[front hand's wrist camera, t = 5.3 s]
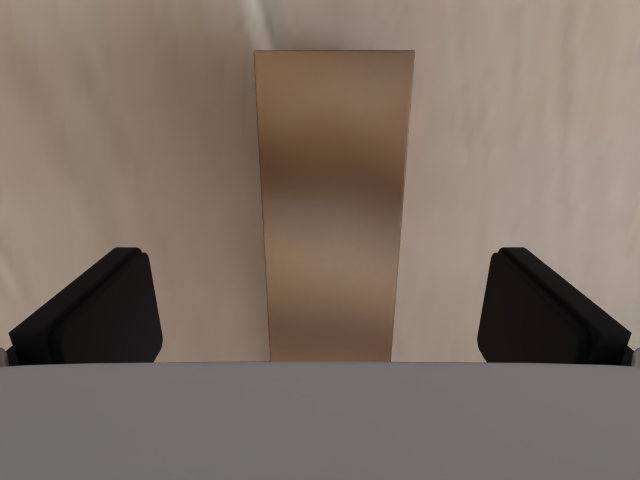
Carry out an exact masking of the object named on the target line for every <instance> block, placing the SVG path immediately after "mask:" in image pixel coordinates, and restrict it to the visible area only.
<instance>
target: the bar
mask: <svg viewBox="0 0 640 480" xmlns="http://www.w3.org/2000/svg"><path fill="white" fill-rule="evenodd" d="M414 55H415V51H414V50H282V51H254V67H255V86H256V104H257V123H258V141H259V160H260V178H261V197H262V215H263V233H264V252H265V270H266V289H267V307H268V326H269V344H270V362H391V351H392V338H393V326H394V313H395V300H396V287H397V274H398V261H399V248H400V235H401V223H402V210H403V197H404V184H405V171H406V158H407V145H408V132H409V120H410V107H411V94H412V81H413V68H414Z"/></svg>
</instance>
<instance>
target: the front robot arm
mask: <svg viewBox="0 0 640 480" xmlns="http://www.w3.org/2000/svg"><path fill="white" fill-rule="evenodd" d="M9 336H10V339H11V342H12V344H13V346H11V347H10V348H9V349H8V350H7V351H5V350H4V349H3V348H0V480H640V348H637V349H636V350H635V351H633V350H632V349H631V348H630V347H629V346H627V344H628V342H629V339H630V336H631V332H630V331H628V330H627V329H626V328H625V327H623V326H622V325H621V324H620V323H618V322H617V321H616V320H615V319H613V318H612V317H611V316H610V315H608V314H607V313H606V312H605V311H603V310H602V309H601V308H600V307H598V306H597V305H596V304H595V303H593V302H592V301H591V300H590V299H588V298H587V297H586V296H585V295H583V294H582V293H581V292H580V291H578V290H577V289H576V288H575V287H573V286H572V285H571V284H570V283H568V282H567V281H566V280H565V279H563V278H562V277H561V276H560V275H558V274H557V273H556V272H555V271H553V270H552V269H551V268H550V267H548V266H547V265H546V264H545V263H543V262H542V261H541V260H540V259H538V258H537V257H536V256H535V255H533V254H532V253H531V252H530V251H528V250H527V249H526V248H524V247H504V248H501V249H500V250H499V251H498V253H494V254H493V255H492V257H491V262H490V267H489V273H488V279H487V285H486V291H485V296H484V302H483V308H482V314H481V319H480V325H479V331H478V338H477V342H478V347H479V350H480V352H481V353H482V355H483V357H484V358H485V360H486V362H487V363H467V362H171V363H153V362H154V360H155V358H156V357H157V355H158V353H159V352H160V350H161V347H162V342H163V338H162V331H161V325H160V319H159V314H158V308H157V302H156V296H155V291H154V285H153V279H152V273H151V268H150V262H149V257H148V255H147V254H146V253H142V251H141V250H140V249H139V248H136V247H116V248H114V249H113V250H112V251H110V252H109V253H108V254H107V255H105V256H104V257H103V258H102V259H100V260H99V261H98V262H97V263H95V264H94V265H93V266H92V267H90V268H89V269H88V270H87V271H85V272H84V273H83V274H82V275H80V276H79V277H78V278H77V279H75V280H74V281H73V282H72V283H70V284H69V285H68V286H67V287H65V288H64V289H63V290H62V291H60V292H59V293H58V294H57V295H55V296H54V297H53V298H52V299H50V300H49V301H48V302H47V303H45V304H44V305H43V306H42V307H40V308H39V309H38V310H37V311H35V312H34V313H33V314H32V315H30V316H29V317H28V318H27V319H25V320H24V321H23V322H22V323H20V324H19V325H18V326H17V327H15V328H14V329H13V330H12V331H10V332H9Z"/></svg>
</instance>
